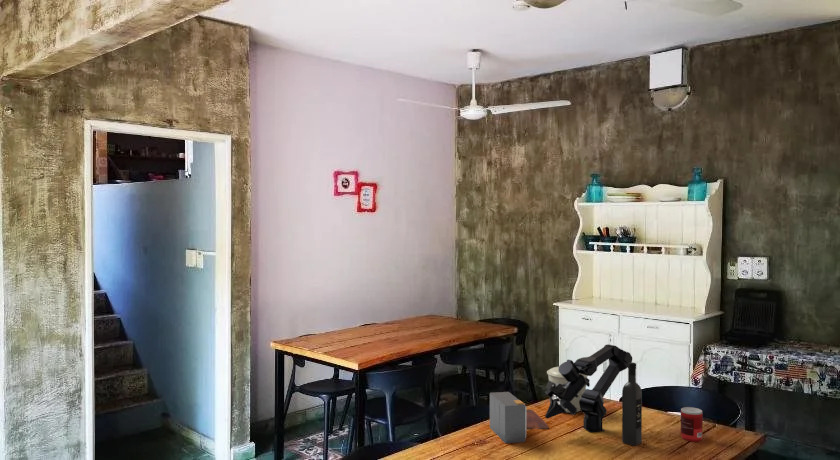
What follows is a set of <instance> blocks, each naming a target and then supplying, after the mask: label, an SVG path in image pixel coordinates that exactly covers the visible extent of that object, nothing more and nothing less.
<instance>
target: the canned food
mask: <svg viewBox="0 0 840 460" xmlns="http://www.w3.org/2000/svg"><path fill="white" fill-rule="evenodd" d="M703 414H704V413H703V410H702V409H700V408H697V407H691V406H686V407H682V408H680V437H681V439H682V440H683V441H687V442H691V443H693V442H694V443H696V442H697V443H698V442H702V440H703V423H704V422H703V421H704V420H703V418H704V417H703Z"/></svg>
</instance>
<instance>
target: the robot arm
mask: <svg viewBox="0 0 840 460" xmlns="http://www.w3.org/2000/svg"><path fill="white" fill-rule="evenodd" d="M606 361H608V365H607V367H606V369H604V371H603V373H602V375H601V376H600V378H598V380H597V382H596V383H595V385H594V387H593V388H592V389H589V388H590V386H591V384H590V379H589V378H588V376H589V377H591V376H593V375H594V374H595V373H596V372H597V371H598V367H599V366H601V365H602V364H603V363H605V362H606ZM629 362H633V356H632V354H631V353H630V352H628V351H626V350H623V349H622V348H620V347H618V346H617V345H613V344H605V345H604V346H603V347H602V348H601V349H599V350H597V351H596V352H594V353H593V354H591V355H590V356H586V357H584V356H583V357H580V358H577V359H576V360H575V362H574V361H573V359H567V360H566V361H564V362H562V363H561V364H560V365H559V366H558V367H559V369H558V370H559V373H560V374H561V375H562V376H563V377H564V378H565V379H566V381H568V382H567V383H566V384H564V383H562V384H560V383H557V384H556V383H554V382H552V381H549V380H548V382H547V384H546V387H545V388H546V390H545V391H544V393H545V395H546V396H548V398H549V402H550V403H549V406H548V409H547V411H546V413H545V415H544V417H545V418H546V419H550V418H553V417H555V416H558V415H560V414H564V413H566V411H565V410H566V409H568V410H569V411H570V413H569V414H571V415H572V416H575V415H576V413H578V412H577V408H576V407H575V406H574V405H573V404H572V403H571V401H572V400H573V398H574V397H576V398H577V397H578V395H577V394H578V393H579V392H580V390H581V389H582V388H583V387H584V386H585V385H586V387H588V388H586V390H585V391H584V393H583V394H582V395H581V396H582V397H581V398H580V401H579V405H580V409H581V411H580V412H581V413H582V414H584V417H583V425H582V428H583V429H584V430H586V431H587V432H588V433H595V432H596V433H597V432H600V433H601V432H605V429H604V428H603V418H605V416H606V415H607V408H605V406H604V403H605V402H604V401H605V400H604V398H605V395H606V394H607V391H609V389H610V387H611V386H612V384H613V383H614V381H615V380H616V378H617V377H618V376H619V373H620V372H623V371H625V370H628V363H629ZM581 374H583V375H587V378H585V377H584V376H583V375H581Z"/></svg>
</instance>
